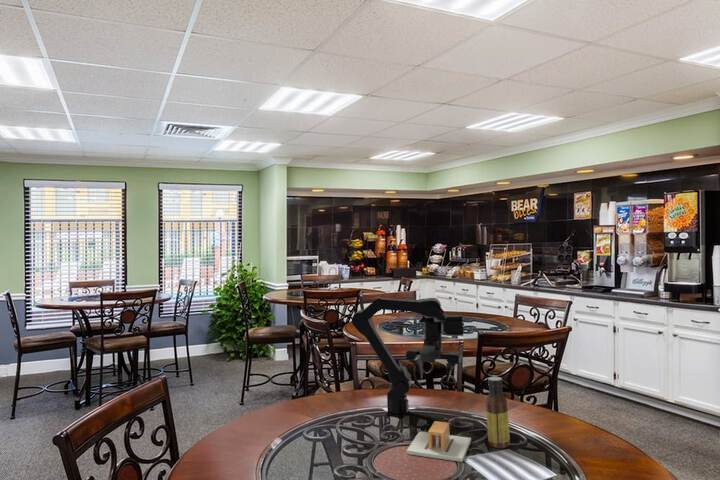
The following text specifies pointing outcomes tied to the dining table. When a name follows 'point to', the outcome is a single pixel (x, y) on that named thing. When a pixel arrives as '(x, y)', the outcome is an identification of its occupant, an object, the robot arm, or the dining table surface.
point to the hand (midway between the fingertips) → (434, 380)
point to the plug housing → (439, 434)
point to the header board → (452, 451)
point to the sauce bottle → (497, 415)
